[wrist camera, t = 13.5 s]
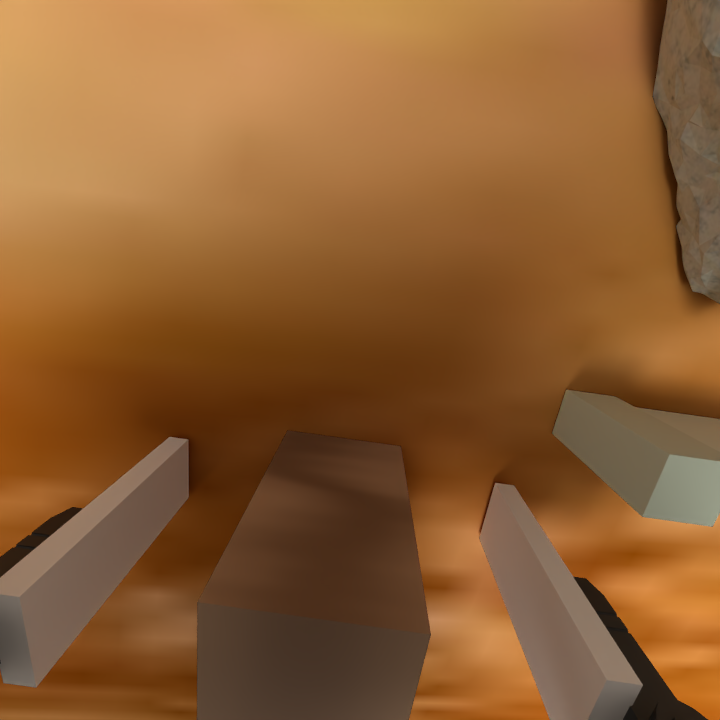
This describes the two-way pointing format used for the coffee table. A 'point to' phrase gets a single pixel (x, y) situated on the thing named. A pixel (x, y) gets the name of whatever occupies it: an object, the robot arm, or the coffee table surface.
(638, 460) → the bay
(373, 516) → the walnut block
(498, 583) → the robot arm
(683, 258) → the decorative stone
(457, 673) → the coffee table surface
